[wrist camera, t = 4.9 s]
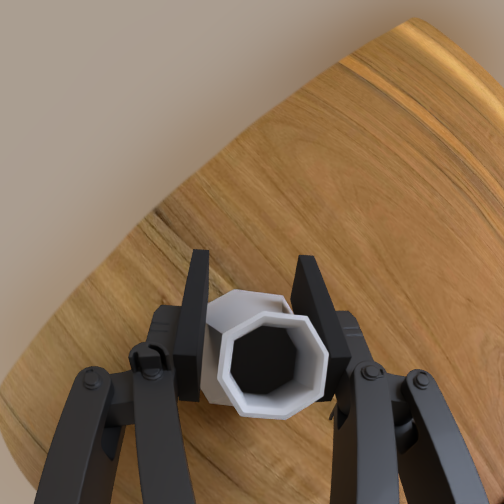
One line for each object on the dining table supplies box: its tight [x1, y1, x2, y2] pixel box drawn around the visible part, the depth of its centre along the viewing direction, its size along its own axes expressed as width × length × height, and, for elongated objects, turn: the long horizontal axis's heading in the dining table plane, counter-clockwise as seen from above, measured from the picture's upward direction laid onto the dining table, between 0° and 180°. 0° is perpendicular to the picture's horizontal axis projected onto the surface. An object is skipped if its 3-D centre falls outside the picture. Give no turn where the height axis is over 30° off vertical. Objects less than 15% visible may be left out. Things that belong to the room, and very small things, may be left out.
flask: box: [200, 289, 329, 420], centre depth 13 cm, size 7×7×10 cm
